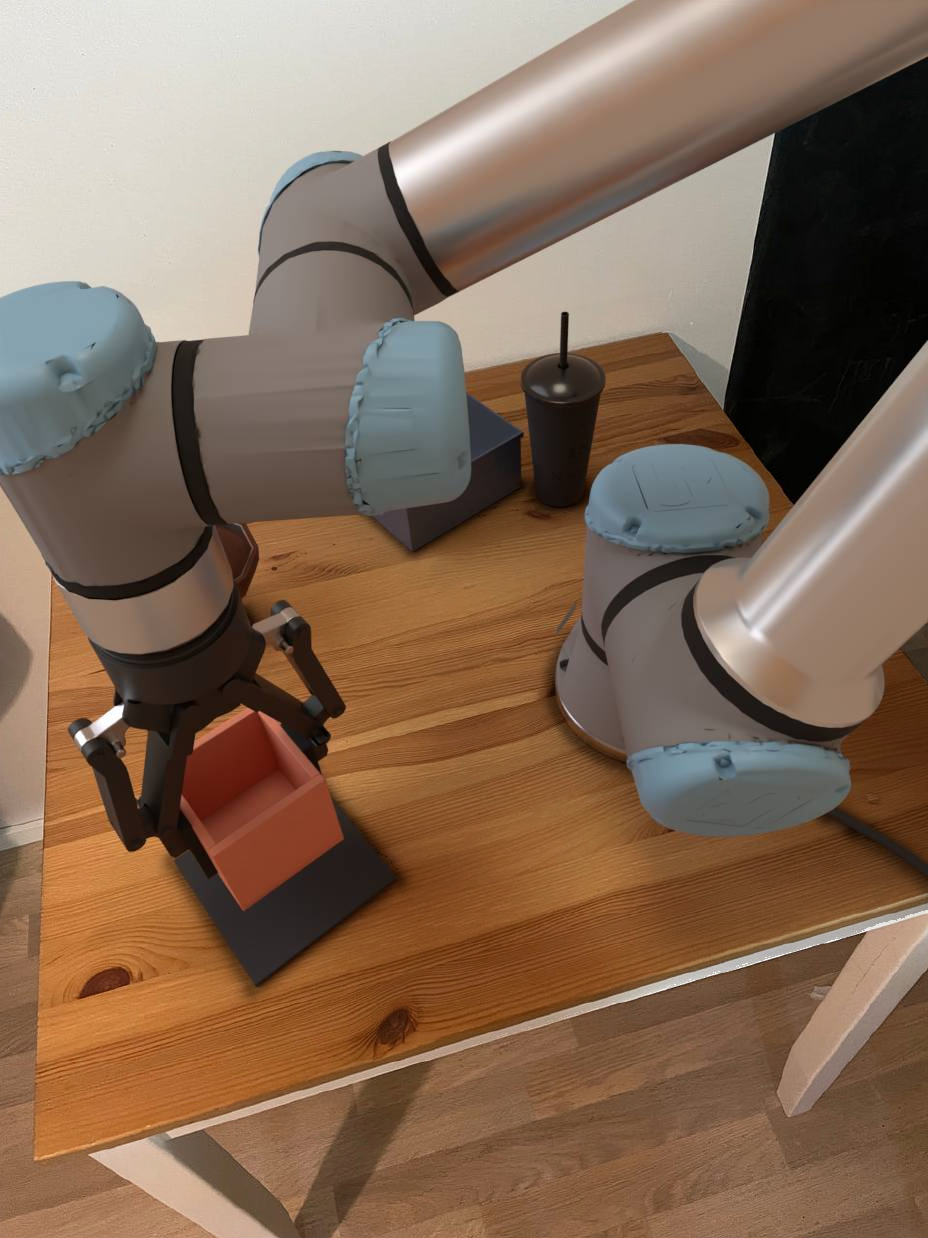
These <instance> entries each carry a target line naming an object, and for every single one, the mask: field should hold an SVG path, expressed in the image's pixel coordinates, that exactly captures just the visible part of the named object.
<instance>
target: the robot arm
mask: <svg viewBox="0 0 928 1238" xmlns="http://www.w3.org/2000/svg"><path fill="white" fill-rule="evenodd" d="M927 57H928V0H632V1H630V2H628V3H627V4H625V5H624V6H622V7H620V8H618V9H617V10H615V11H613V12H611V13H609V14H608V15H606V16H605V17H603V18H600V19H599V20H598V21H596V22H594V23H592V24H591V25H588V26H587V27H586V28H584V29H582V30H581V31H579V32H577V33H575V34H573V35H572V36H570V37H568V38H567V39H565V40H563V41H561V42H560V43H558V44H556V45H554V46H552V47H551V48H549V49H547V50H546V51H544V52H542V53H541V54H539V55H537V56H535V57H534V58H532V59H530V60H528V61H527V62H526V63H524V64H522V65H520V66H518V67H516V68H514V69H513V70H511V71H509V72H507V73H506V74H504V75H502V76H501V77H499V78H498V79H496V80H495V81H492V82H491V83H489V84H487V85H486V86H484V87H482V88H481V89H479V90H477V91H475V92H473V93H472V94H470V95H469V96H467V97H465V98H464V99H461V100H460V101H458V102H456V103H454V104H453V105H451V106H450V107H448V108H446V109H444V110H443V111H441V112H439V113H437V114H436V115H434V116H432V117H430V118H429V119H426V120H425V121H424V122H421V123H420V124H418V125H417V126H415V127H413V128H411V129H409V130H408V131H406V132H405V133H403V134H401V135H399V136H398V137H396V138H394V139H393V140H390V141H388V142H387V143H385V144H382V145H381V146H379V147H377V148H375V149H374V150H371V151H370V152H367V153H366V154H364V155H362V154H360V153H357V152H353V151H346V150H326V151H318V152H313V153H311V154H308V155H306V156H304V157H302V158H301V159H299V160H297V161H296V162H294V163H293V164H292V165H291V166H290V167H288V168H287V170H285V171H284V173H283V174H282V175H281V177H280V178H279V180H278V181H277V182H276V184H275V186H274V188H273V191H272V193H271V196H270V198H269V199H270V200H269V204H268V205H267V207H265V211H264V212H263V216H262V220H261V224H260V228H259V233H258V245H257V246H258V247H257V255H258V263H257V265H258V266H257V271H256V282H255V290H254V296H253V300H252V308H251V315H250V323H249V327H248V328H249V329H248V334H245V335H233V336H223V337H221V336H220V337H209V338H204V339H193V340H187V339H183V340H170V341H156V338H155V335H154V334H153V332H152V328H151V327H150V326H149V325H147V324H146V323H145V321H144V319H143V316H142V313H141V311H140V310H139V309H138V307H137V305H136V304H135V303H134V302H133V301H132V300H131V299H130V298H129V297H127V296H126V295H124V294H123V293H122V292H121V291H119V290H117V289H114V288H111V287H108V286H106V285H100V286H95V287H92V286H90V285H89V284H88V283H87V282H83V281H80V280H66V281H65V280H64V281H53V282H46V283H41V284H36V285H32V286H28V287H25V288H21V289H19V290H16V291H13V292H10V293H8V294H5V295H3V296H1V297H0V488H1V490H2V491H3V493H4V494H5V496H6V497H7V499H8V501H9V502H10V504H11V505H12V507H13V509H14V511H15V512H16V514H17V516H18V517H19V519H20V521H21V523H22V525H23V526H24V528H25V529H26V531H27V532H28V534H29V535H30V537H31V539H32V541H33V543H34V545H35V546H36V547H37V549H38V551H39V552H40V554H41V557H42V559H43V560H44V563H45V566H46V567H47V568H48V570H49V572H50V573H51V575H52V577H53V580H54V583H55V584H56V586H57V587H58V589H59V591H60V593H61V595H62V596H63V599H64V601H66V603H67V605H68V607H69V609H70V611H71V612H72V614H73V616H74V618H75V619H76V621H77V623H78V625H79V627H80V629H81V630H82V632H83V634H84V635H85V636H86V637H87V639H88V640H87V641H88V642H89V644H90V646H91V648H92V649H93V652H94V653H95V655H96V657H97V658H98V660H99V662H100V663H101V665H102V667H103V669H104V671H105V672H106V675H107V676H108V677H109V679H110V681H111V683H112V685H113V687H114V692H113V693H114V694H113V699H112V703H113V707H112V708H111V709H109V710H108V711H107V712H105V713H104V714H103V715H101V716H100V717H98V718H97V719H96V720H95V721H92V720H90V719H89V718H87V717H80V718H77V719H75V720H73V721H72V722H71V723H70V724H69V726H68V728H67V733H68V734H69V736H70V737H71V739H72V740H73V743H74V744H75V746H76V747H77V749H78V750H79V752H80V753H81V755H82V757H83V758H84V759H85V761H86V762H87V764H88V765H89V766H90V767H91V768H92V773H93V775H94V778H95V781H96V784H97V787H98V791H99V794H100V798H101V801H102V804H103V807H104V810H105V813H106V816H107V817H106V818H107V819H108V822H109V824H110V825H111V827H112V828H113V830H114V832H115V834H116V835H117V836H118V838H119V840H120V841H121V843H122V845H123V847H124V848H125V849H126V851H127V852H130V853H134V852H137V851H139V850H140V849H142V848H143V847H144V846H145V845H146V844H147V840H148V839H150V838H157V839H158V840H159V841H160V842H161V844H162V845H163V847H164V849H165V850H166V851H167V854H168V855H169V856H170V858H175V859H177V858H178V857H179V856H181V855H182V854H184V853H185V852H187V851H188V850H189V851H190V853H191V854H192V856H193V857H194V859H195V860H196V862H197V863H198V865H199V866H200V867H201V869H202V870H203V872H204V873H205V875H206V876H207V878H208V879H209V878H211V877H212V876H214V875H215V874H217V873H218V871H217V870H216V868H215V866H214V864H213V863H212V861H211V859H210V857H209V856H208V854H207V852H206V851H205V849H204V847H203V845H202V844H201V842H200V840H199V838H198V837H197V835H196V833H195V832H194V830H193V828H192V825H191V824H190V822H189V821H188V820H187V818H186V817H185V815H184V814H183V812H182V811H181V809H180V803H181V796H182V789H183V782H184V775H185V768H186V761H187V756H189V755H192V753H193V748H194V741H195V740H196V734H197V733H199V732H201V731H202V730H203V729H205V728H206V727H208V726H209V725H210V724H212V723H213V722H214V721H215V720H216V719H217V718H220V717H222V716H225V715H227V714H229V713H231V712H233V711H234V710H236V709H238V708H239V707H241V706H245V707H246V708H250V709H251V710H253V711H255V712H257V713H258V712H259V711H260V712H262V713H264V714H266V715H267V716H269V717H271V718H273V719H275V720H276V721H277V722H278V723H279V724H280V725H281V727H282V728H283V729H284V731H285V732H286V733H287V734H288V735H289V737H290V738H291V739H292V740H293V741H294V743H295V744H296V745H297V746H298V748H299V749H300V750H301V751H302V752H303V753H304V754H305V756H306V757H307V758H308V759H309V760H310V762H311V763H312V764H313V765H314V766H315V768H316V769H317V770H318V771H319V773H320V774H321V775H322V776H323V773H322V770H321V767H320V764H319V762H320V761H322V760H323V759H324V758H326V757H327V756H328V753H329V748H328V743H329V742H330V740H331V738H332V734H331V732H329V730H328V729H327V727H325V726H324V725H325V723H326V722H327V721H328V720H329V719H330V718H331V719H338V718H340V717H341V716H342V715H343V714H344V713H345V711H346V709H347V705H346V703H345V702H344V700H343V699H342V696H341V695H340V694H339V691H338V690H337V689H336V687H335V685H334V684H333V682H332V680H331V679H330V677H329V675H328V674H327V672H326V671H325V669H324V667H323V665H322V664H321V662H320V660H319V659H318V657H317V655H316V654H315V652H314V650H313V649H312V648H313V645H312V643H313V642H312V627H311V625H310V624H309V623H308V622H307V621H306V620H305V618H303V616H302V615H301V614H300V613H299V612H298V611H297V610H296V608H294V606H292V605H291V603H290V602H288V601H287V600H286V599H279V600H277V601H276V602H275V603H273V604H272V606H271V608H270V611H269V612H270V614H269V615H270V616H268V617H267V618H265V619H262V620H260V621H258V622H255V623H253V622H252V621H250V619H249V617H248V614H247V611H246V608H245V605H244V603H243V598H242V599H241V596H240V594H239V591H238V588H237V585H236V583H235V581H234V579H233V575H232V570H231V567H230V564H229V562H228V559H227V556H226V554H225V551H224V548H223V546H222V543H221V540H220V537H219V535H218V532H217V529H216V527H215V525H224V524H227V525H229V524H235V523H246V524H247V523H262V522H275V521H290V520H303V519H304V520H305V519H318V518H319V519H320V518H333V517H346V516H348V517H349V516H359V515H362V516H366V517H373V516H372V515H378V516H379V515H383V513H385V512H386V511H392V510H398V509H405V508H412V507H418V506H425V505H432V504H438V503H445V502H449V501H452V500H454V499H456V498H457V497H459V496H460V495H461V494H462V493H463V492H464V491H465V489H466V487H467V486H468V484H469V481H470V477H471V451H470V433H469V419H468V406H467V395H466V392H467V385H466V374H465V365H464V358H463V349H462V343H461V340H460V337H459V334H458V333H457V331H456V330H455V329H454V328H453V327H452V326H451V325H449V324H447V323H446V322H443V321H440V320H416V319H415V316H416V315H418V314H420V313H422V312H425V311H426V310H428V309H430V308H432V307H434V306H436V305H438V304H441V302H444V301H445V300H446V299H448V298H449V297H452V296H454V295H456V294H458V293H460V292H462V291H464V290H466V289H467V288H469V287H472V286H474V285H475V284H477V283H479V282H481V281H483V280H485V279H488V278H489V277H491V276H493V275H495V274H497V273H499V272H501V271H503V270H505V269H508V268H510V267H511V266H514V265H516V264H518V263H519V262H521V261H524V260H525V259H528V258H530V257H531V256H533V255H535V254H538V253H539V252H542V251H543V250H545V249H547V248H549V247H552V246H553V245H555V244H557V243H559V242H561V241H563V240H565V239H568V238H569V237H571V236H573V235H575V234H578V233H580V232H581V231H583V230H585V229H587V228H589V227H591V226H594V225H595V224H597V223H599V222H601V221H603V220H605V219H607V218H609V217H611V216H613V215H615V214H617V213H618V212H620V211H623V210H625V209H627V208H629V207H631V206H633V205H635V204H637V203H638V202H641V201H643V200H644V199H646V198H648V197H650V196H652V195H655V194H657V193H659V192H660V191H663V190H664V189H667V188H669V187H670V186H673V185H674V184H677V183H678V182H681V181H683V180H685V179H686V178H688V177H690V176H692V175H694V174H697V173H698V172H701V171H702V170H704V169H706V168H708V167H711V166H712V165H714V164H717V163H718V162H721V161H722V160H725V159H726V158H728V157H731V156H732V155H734V154H736V153H739V152H740V151H742V150H745V149H746V148H748V147H750V146H752V145H755V144H757V143H758V142H760V141H762V140H764V139H766V138H768V137H770V136H773V135H774V134H776V133H778V132H780V131H782V130H785V129H786V128H788V127H790V126H791V125H794V124H796V123H798V122H800V121H802V120H804V119H806V118H808V117H810V116H812V115H814V114H816V113H818V112H820V111H822V110H824V109H825V108H828V107H830V106H832V105H834V104H835V103H838V102H839V101H842V100H843V99H846V98H848V97H850V96H851V95H854V94H856V93H858V92H860V91H862V90H864V89H866V88H867V87H870V86H871V85H874V84H875V83H877V82H880V81H882V80H884V79H885V78H887V77H890V76H891V75H893V74H896V73H898V72H900V71H901V70H903V69H905V68H907V67H909V66H911V65H914V64H915V63H918V62H919V61H921V60H923V59H926V58H927ZM769 508H770V494H769V490H768V487H767V485H766V483H765V481H764V480H763V479H762V477H761V476H760V475H759V473H758V472H757V471H756V470H755V469H754V468H753V467H751V466H750V465H749V464H747V463H746V462H745V461H742V460H741V459H740V458H737V457H735V456H733V455H732V454H728V453H726V452H721V451H717V450H715V449H713V448H711V447H706V446H702V445H696V444H686V443H684V444H683V443H666V444H655V445H649V446H645V447H640V448H637V449H634V450H631V451H629V452H626V453H624V454H622V455H620V456H618V457H617V458H616V459H615V460H613V462H612V463H610V464H607V465H606V466H605V467H603V468H602V469H601V471H599V473H598V474H597V475H596V477H595V479H594V480H593V482H592V485H591V488H590V493H589V499H588V504H587V506H586V507H585V511H584V523H585V524H586V533H585V547H584V563H583V579H582V595H581V596H582V597H581V614H580V616H579V617H578V619H577V621H576V623H575V624H574V625H573V627H572V629H571V630H570V632H569V634H568V635H567V637H566V639H565V640H564V642H563V644H562V646H561V648H560V651H559V653H558V656H557V659H556V663H555V673H554V692H555V693H554V694H555V698H556V703H557V705H558V708H559V711H560V713H561V715H562V717H563V719H564V720H565V722H566V724H567V726H569V727H570V729H571V730H572V731H573V733H574V734H575V735H577V737H578V738H579V739H581V740H582V741H583V742H584V743H586V745H588V746H590V747H591V748H592V749H594V750H596V751H597V752H599V753H601V754H603V755H605V756H607V757H609V758H612V759H613V760H618V761H620V762H624V763H626V768H627V769H628V771H629V772H630V773H631V774H632V778H633V781H634V785H635V788H636V791H637V795H638V799H639V801H640V804H641V806H642V808H643V809H644V810H645V812H647V813H648V815H649V816H650V817H651V818H652V819H653V820H654V821H656V822H657V823H658V824H659V825H661V826H663V827H665V828H666V829H669V830H673V831H675V832H678V833H682V834H685V835H691V836H697V837H698V836H699V837H708V838H709V837H711V838H734V837H735V838H737V837H738V838H739V837H747V836H755V835H761V834H768V833H769V834H770V833H774V832H778V831H783V830H788V829H791V828H794V827H798V826H799V825H803V824H806V823H808V822H811V821H813V820H815V819H818V818H819V817H821V816H824V815H828V816H829V817H831V818H833V819H834V820H836V821H838V822H839V823H841V824H843V825H844V826H847V827H848V828H850V829H852V830H854V831H855V832H857V833H859V834H861V835H863V836H864V837H866V838H868V839H869V840H871V841H873V842H875V843H877V844H879V845H880V846H882V847H883V848H885V849H886V850H888V851H890V852H891V853H892V854H894V855H896V856H897V857H899V858H900V859H901V860H903V861H904V862H906V863H907V864H908V865H909V866H911V867H912V868H914V869H915V870H916V871H918V872H919V873H920V874H922V875H923V876H924V877H925V878H926V879H928V863H927V862H925V861H924V860H923V859H922V858H920V857H919V856H918V855H916V854H915V853H914V852H912V851H911V850H909V849H908V848H907V847H905V846H903V845H902V844H901V843H899V842H897V841H896V840H894V839H892V838H891V837H890V836H888V835H886V834H884V833H883V832H880V831H879V830H878V829H876V828H874V827H873V826H870V825H868V824H867V823H865V822H863V821H861V820H859V819H858V818H856V817H854V816H852V815H851V814H849V813H847V812H845V811H844V810H842V809H840V808H839V807H838V806H840V805H841V804H842V803H843V802H844V800H845V799H847V797H848V796H849V793H850V790H851V787H852V780H851V776H850V770H851V769H852V766H851V763H850V760H849V758H847V757H846V756H845V755H844V754H843V752H842V749H841V748H842V742H843V741H844V740H845V739H846V738H847V737H848V736H850V734H852V733H853V732H854V731H855V730H856V729H857V728H858V727H859V726H860V725H862V724H863V723H864V722H865V721H866V720H867V719H868V718H870V717H871V716H872V715H873V713H874V712H875V711H876V710H877V708H878V707H879V705H880V703H881V702H882V700H883V696H884V693H885V674H884V668H883V664H884V663H885V662H886V661H887V660H889V658H891V657H892V656H893V655H894V654H895V653H896V652H898V650H899V649H900V648H901V647H902V646H904V644H905V643H907V642H908V641H909V640H910V639H911V638H912V637H913V636H915V634H917V633H918V632H919V631H920V630H921V629H922V628H923V627H925V625H926V624H927V623H928V340H926V341H925V343H924V344H923V345H922V347H921V348H920V349H919V351H917V353H916V354H915V356H914V357H913V358H912V359H911V360H910V361H909V363H908V364H907V365H906V367H905V368H904V369H903V370H902V371H901V373H900V374H899V375H898V376H897V377H896V378H895V380H894V381H893V383H892V384H891V385H890V386H889V387H888V389H887V390H886V391H885V392H884V393H883V395H882V396H881V397H880V399H878V401H877V402H876V404H875V405H874V406H873V407H872V408H871V410H870V411H869V412H868V413H867V415H866V416H865V417H864V419H862V421H861V422H860V423H859V425H857V427H856V428H855V430H854V431H852V433H851V434H850V436H849V437H848V438H847V439H846V440H845V442H844V443H842V445H841V447H840V448H839V449H838V450H837V452H836V453H835V454H834V455H833V457H832V458H831V459H830V460H829V461H828V462H827V464H826V465H825V466H824V467H823V469H822V470H821V471H820V473H819V474H818V475H817V476H816V478H814V480H813V481H812V482H811V484H810V485H809V486H808V488H806V490H805V491H804V492H803V494H802V495H801V496H800V497H799V499H798V500H797V501H796V502H795V503H794V505H793V506H792V507H791V508H790V510H789V511H788V512H787V513H786V515H785V516H784V517H783V518H782V520H781V521H780V522H779V523H778V524H777V526H776V527H775V528H774V530H773V531H772V532H771V533H770V535H768V536H767V538H766V539H765V540H764V542H763V534H764V532H765V530H766V529H767V528H768V525H769V522H770V518H771V514H770V512H769V511H770V509H769ZM576 609H577V600H575V602H574V603H573V604H572V606H571V608H569V610H568V612H567V613H566V614H565V616H564V618H563V619H562V620H561V622H560V623H559V624H558V626H556V636H558V635H559V634H560V632H561V631H562V629H563V628H564V626H566V624H567V622H568V621H569V620H570V618H571V616H572V615H573V614H574V612H575V611H576ZM268 645H270V646H271V648H272V649H274V650H275V651H276V652H282V653H283V655H284V656H285V658H286V659H287V661H288V662H289V664H290V665H291V667H292V669H293V670H294V672H295V673H296V675H297V676H298V678H299V679H300V681H301V682H302V683H303V685H304V687H305V688H306V689H307V691H308V693H309V694H310V696H309V697H308V698H307V699H306V700H305V701H302V700H300V699H299V698H297V697H295V696H294V695H293V694H291V693H289V692H288V691H285V689H282V688H281V687H280V686H277V684H274V683H273V682H271V681H269V680H268V679H266V678H265V677H263V676H262V675H260V674H258V673H257V671H258V668H259V666H260V663H261V660H262V659H263V655H264V654H265V650H266V647H267V646H268ZM129 728H132V729H138V730H144V731H146V732H147V736H146V745H145V755H144V762H143V763H144V766H143V774H142V781H141V791H140V796H138V798H137V797H136V796H135V792H134V788H133V784H132V781H131V777H130V774H129V770H128V767H127V766H126V764H125V763H124V761H123V758H124V757H125V756H126V755H127V749H126V748H125V747H126V744H127V740H126V733H127V731H128V730H129Z"/></svg>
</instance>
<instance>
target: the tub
mask: <svg viewBox="0 0 928 1238" xmlns="http://www.w3.org/2000/svg"><path fill="white" fill-rule="evenodd" d="M280 724H281V723H280V722H278V721H276V720H275V719H273V718H271V717H269V716H267V715H266V714H264V713H262V712H260V711H259V712H258V713H257V712H255V711H253V710H251V709H250V708H248V707H246V708H244V709H243V710H242V711H240V712H239V713H237V714H235V715H233V716H232V717H231V718H229V719H227V720H225V721H224V722H222V723H221V724H219V725H218V726H216V727H215V728H213V729H211V730H210V731H208V732H207V733H204V734H203V735H202V736H200V737H198V738H197V739H195V741H194V748H193V753H192V755H189V756H187V761H186V768H185V775H184V782H183V789H182V796H181V803H180V809H181V811H182V812H183V814H184V815H185V817H186V818H187V820H188V821H189V822H190V824H191V825H192V828H193V830H194V832H195V833H196V835H197V837H198V838H199V840H200V842H201V844H202V845H203V847H204V849H205V851H206V852H207V854H208V856H209V857H210V859H211V861H212V863H213V864H214V866H215V868H216V870H217V871H218V875H219V876H220V878H221V879H222V880H223V882H224V883H225V885H226V886H227V888H228V889H229V891H230V892H231V894H232V895H233V897H234V898H235V900H236V901H237V902H238V904H239V905H240V907H241V908H242V910H243V911H245V910H246V909H248V908H249V907H250V906H252V905H253V904H255V903H256V902H257V901H259V900H260V899H261V898H263V897H264V896H266V895H267V894H268V893H270V892H271V891H273V890H274V889H275V888H277V887H278V886H279V885H281V884H282V883H284V882H285V881H286V880H288V879H289V878H291V877H292V876H293V875H295V874H296V873H297V872H299V871H300V870H302V869H303V868H304V867H306V866H307V865H309V864H310V863H311V862H313V861H314V860H315V859H317V858H318V857H320V856H321V855H322V854H324V853H325V852H327V851H328V850H329V849H331V848H332V847H334V846H335V845H336V844H338V843H339V842H340V841H342V840H343V839H344V837H343V834H342V831H341V828H340V824H339V821H338V818H337V815H336V812H335V809H334V806H333V803H332V799H333V798H332V797H331V793H330V790H329V788H328V783H327V781H326V778H325V777H324V775H323V774H322V775H321V774H320V773H319V771H318V770H317V769H316V768H315V766H314V765H313V764H312V763H311V762H310V760H309V759H308V758H307V757H306V756H305V754H304V753H303V752H302V751H301V750H300V749H299V748H298V746H297V745H296V744H295V743H294V741H293V740H292V739H291V738H290V737H289V735H288V734H287V733H286V732H285V731H284V729H283V728H282V727H281V725H280ZM331 798H332V799H331Z"/></svg>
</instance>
